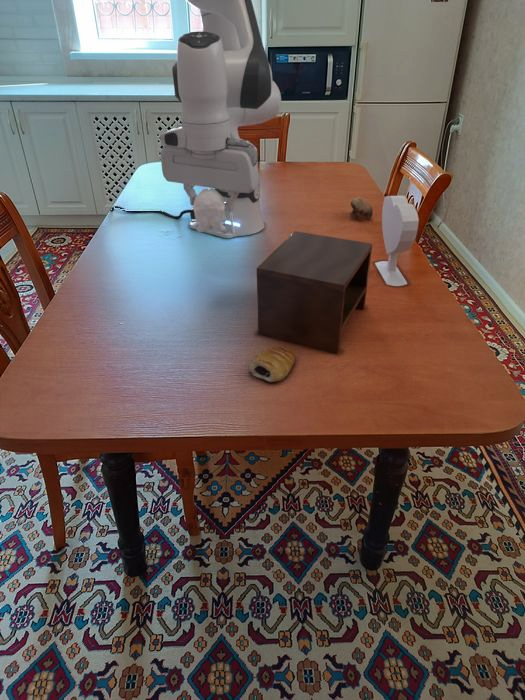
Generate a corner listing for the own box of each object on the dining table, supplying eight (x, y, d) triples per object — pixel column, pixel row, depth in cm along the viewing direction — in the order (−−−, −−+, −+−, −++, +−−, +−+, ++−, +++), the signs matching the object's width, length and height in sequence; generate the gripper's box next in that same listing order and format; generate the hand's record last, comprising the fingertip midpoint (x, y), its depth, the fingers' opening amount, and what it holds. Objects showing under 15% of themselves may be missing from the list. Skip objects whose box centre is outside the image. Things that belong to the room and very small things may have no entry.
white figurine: (190, 193, 92) (195, 179, 102) (194, 237, 96) (199, 219, 107) (224, 192, 92) (225, 178, 102) (226, 236, 97) (227, 218, 107)
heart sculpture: (410, 287, 115) (424, 213, 104) (389, 288, 114) (400, 214, 104) (391, 258, 127) (402, 189, 117) (372, 259, 127) (381, 190, 116)
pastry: (274, 349, 95) (275, 333, 93) (304, 361, 92) (305, 345, 90) (246, 374, 89) (245, 358, 87) (277, 388, 86) (277, 371, 84)
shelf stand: (258, 334, 100) (256, 267, 91) (293, 291, 114) (294, 230, 105) (337, 354, 94) (344, 285, 85) (364, 307, 108) (372, 243, 99)
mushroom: (341, 209, 147) (354, 192, 145) (346, 211, 155) (359, 194, 152) (361, 226, 146) (375, 209, 144) (365, 227, 154) (378, 211, 151)
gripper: (264, 137, 90) (264, 210, 98) (171, 127, 97) (179, 196, 105) (249, 145, 85) (251, 221, 94) (152, 134, 93) (162, 206, 101)
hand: (212, 207), depth 100 cm, fingers closed on white figurine, 6 cm apart
